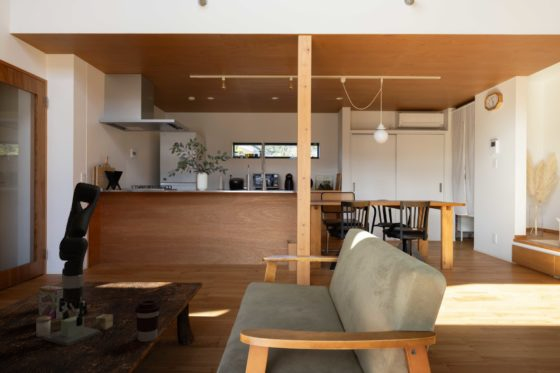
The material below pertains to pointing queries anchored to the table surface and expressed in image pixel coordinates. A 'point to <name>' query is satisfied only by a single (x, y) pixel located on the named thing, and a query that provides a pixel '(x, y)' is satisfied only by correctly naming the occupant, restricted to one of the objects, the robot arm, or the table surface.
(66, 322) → the sage block
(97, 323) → the oak cube
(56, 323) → the walnut block
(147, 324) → the coffee cup
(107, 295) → the table surface
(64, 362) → the table surface
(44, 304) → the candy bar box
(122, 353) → the table surface
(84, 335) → the board
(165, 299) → the table surface
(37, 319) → the cream jar
